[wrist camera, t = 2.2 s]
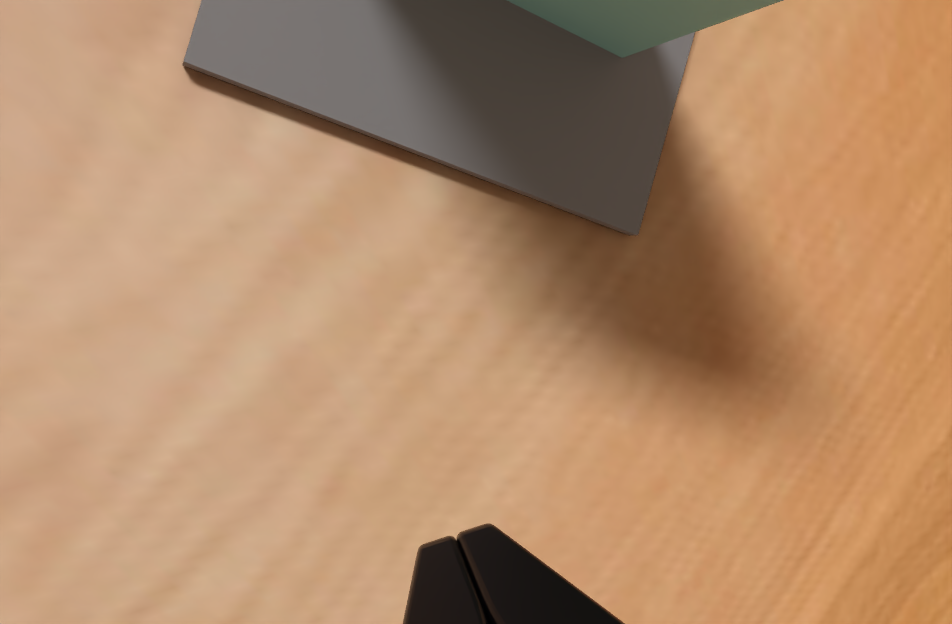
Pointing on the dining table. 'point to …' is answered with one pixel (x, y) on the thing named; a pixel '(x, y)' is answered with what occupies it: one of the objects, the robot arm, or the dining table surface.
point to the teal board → (637, 19)
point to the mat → (462, 90)
